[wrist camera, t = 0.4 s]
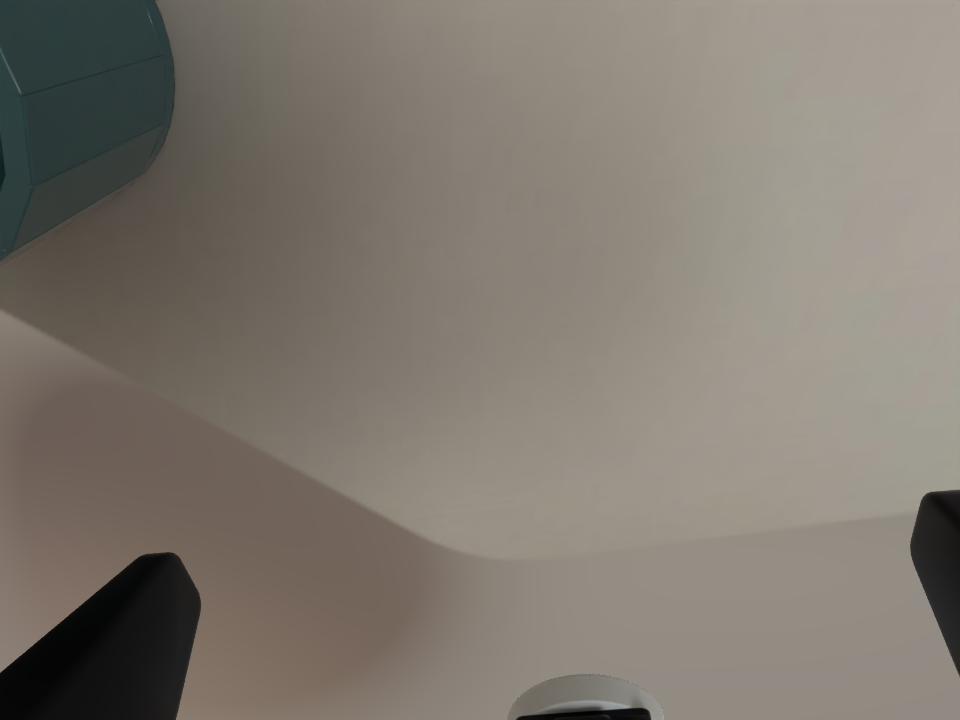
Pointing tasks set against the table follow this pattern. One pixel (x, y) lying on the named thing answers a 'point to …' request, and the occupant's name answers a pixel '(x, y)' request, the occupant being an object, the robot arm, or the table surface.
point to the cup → (76, 109)
